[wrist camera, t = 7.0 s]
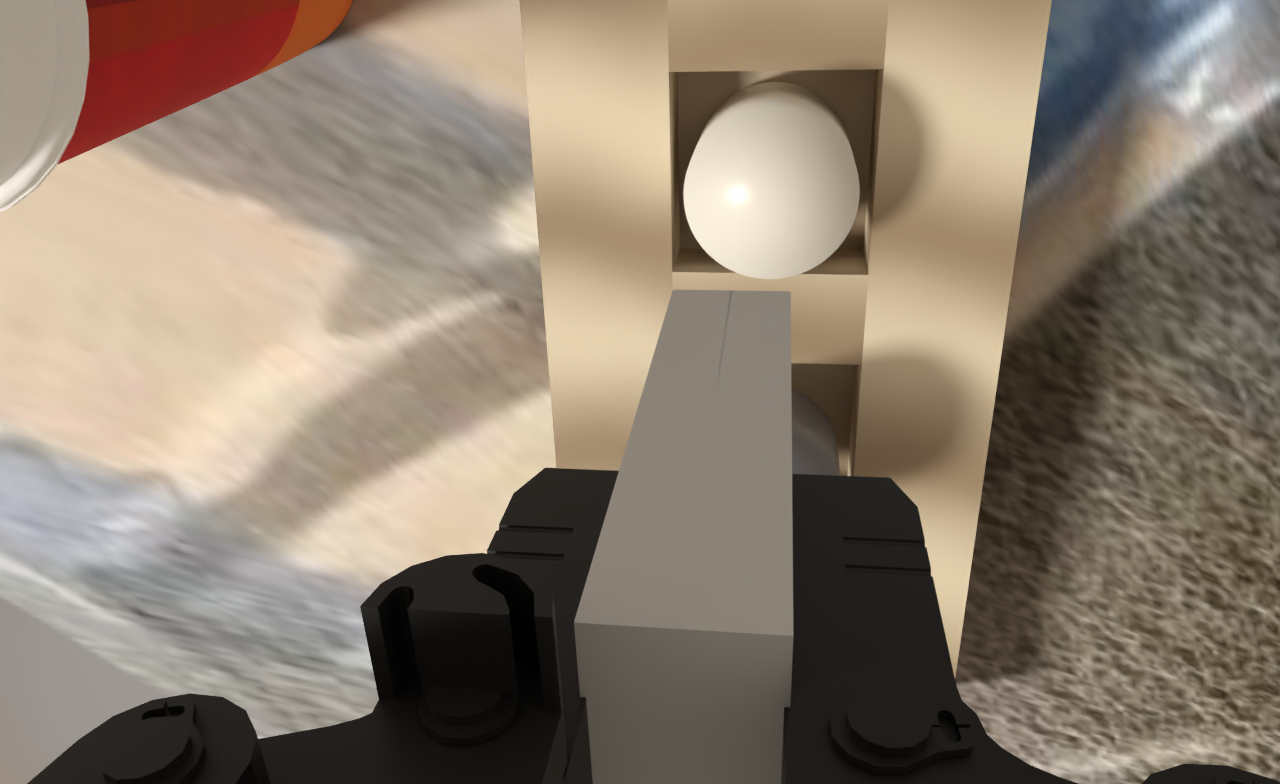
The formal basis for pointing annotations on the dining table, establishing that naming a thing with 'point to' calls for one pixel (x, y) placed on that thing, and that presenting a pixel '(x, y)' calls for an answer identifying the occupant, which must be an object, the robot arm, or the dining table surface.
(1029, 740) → the dining table surface
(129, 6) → the coffee cup
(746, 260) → the white rounded cylinder
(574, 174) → the wooden button tray
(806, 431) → the gray button
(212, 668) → the dining table surface
